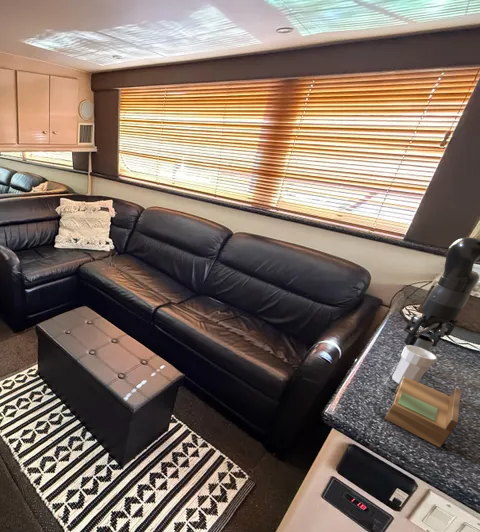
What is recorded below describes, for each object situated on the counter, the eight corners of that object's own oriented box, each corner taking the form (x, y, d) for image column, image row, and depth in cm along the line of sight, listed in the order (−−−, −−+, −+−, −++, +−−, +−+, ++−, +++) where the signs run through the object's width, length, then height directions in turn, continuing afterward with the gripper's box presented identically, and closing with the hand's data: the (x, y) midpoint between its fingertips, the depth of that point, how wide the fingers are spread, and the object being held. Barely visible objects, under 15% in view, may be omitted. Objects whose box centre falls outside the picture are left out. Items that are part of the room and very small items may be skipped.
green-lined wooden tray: (396, 389, 92) (409, 367, 89) (445, 412, 85) (461, 389, 82) (384, 418, 81) (398, 394, 78) (439, 447, 74) (458, 422, 71)
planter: (401, 357, 108) (416, 332, 104) (419, 364, 105) (435, 339, 101) (399, 362, 106) (413, 336, 102) (417, 369, 102) (433, 343, 99)
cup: (395, 372, 100) (411, 343, 96) (422, 387, 95) (441, 357, 90) (383, 376, 98) (400, 347, 94) (411, 392, 92) (429, 361, 88)
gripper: (440, 306, 92) (412, 352, 98) (480, 307, 94) (451, 352, 100) (412, 294, 99) (388, 338, 105) (450, 295, 101) (425, 338, 107)
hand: (419, 345), depth 103 cm, fingers open, 8 cm apart
